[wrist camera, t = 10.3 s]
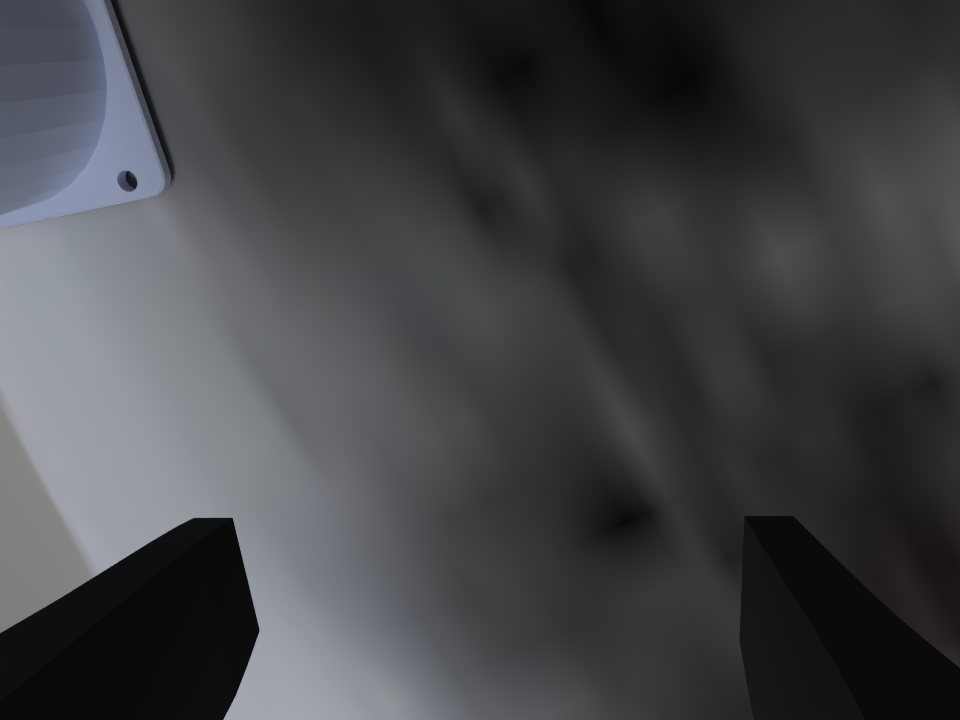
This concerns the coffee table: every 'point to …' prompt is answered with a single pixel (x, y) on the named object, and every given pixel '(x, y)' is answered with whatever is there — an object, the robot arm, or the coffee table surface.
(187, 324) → the coffee table surface
